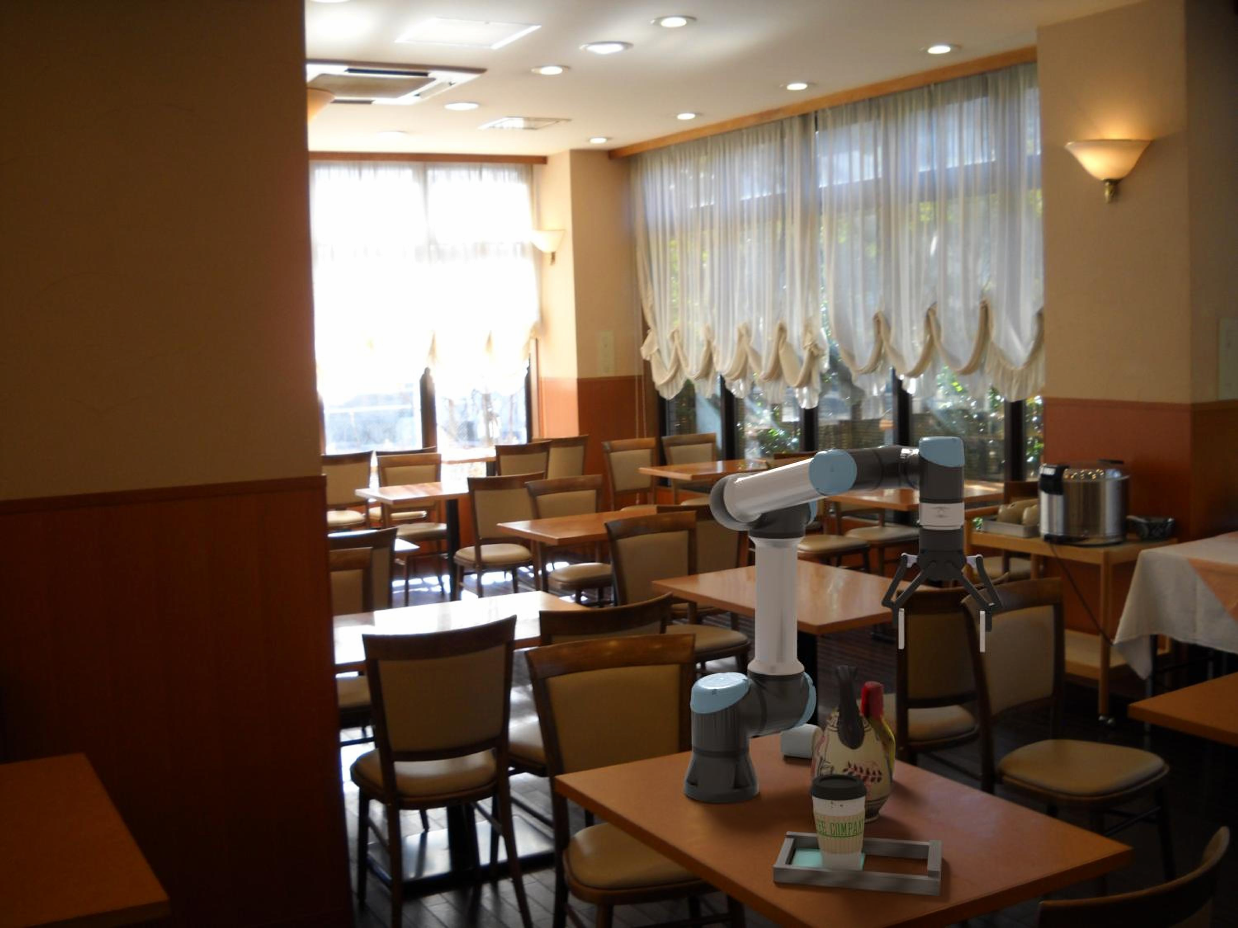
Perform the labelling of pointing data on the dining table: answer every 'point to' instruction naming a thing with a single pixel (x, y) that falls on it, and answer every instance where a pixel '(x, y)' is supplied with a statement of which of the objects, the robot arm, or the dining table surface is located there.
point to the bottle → (877, 716)
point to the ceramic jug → (854, 747)
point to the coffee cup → (839, 819)
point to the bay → (812, 872)
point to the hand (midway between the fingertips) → (941, 648)
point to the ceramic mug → (800, 741)
